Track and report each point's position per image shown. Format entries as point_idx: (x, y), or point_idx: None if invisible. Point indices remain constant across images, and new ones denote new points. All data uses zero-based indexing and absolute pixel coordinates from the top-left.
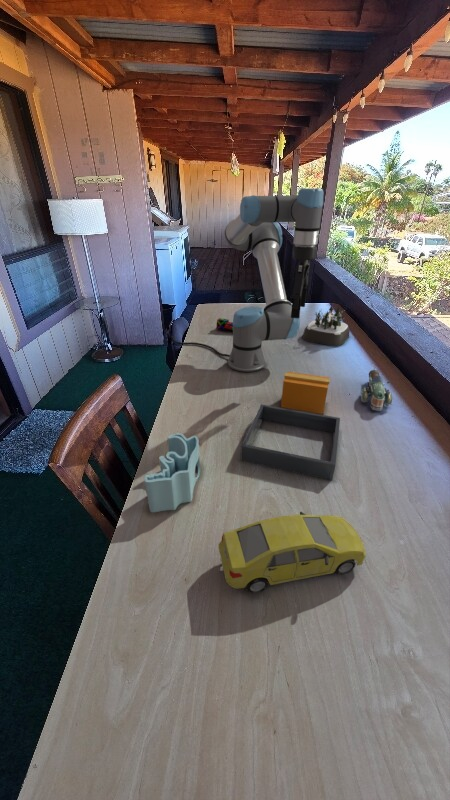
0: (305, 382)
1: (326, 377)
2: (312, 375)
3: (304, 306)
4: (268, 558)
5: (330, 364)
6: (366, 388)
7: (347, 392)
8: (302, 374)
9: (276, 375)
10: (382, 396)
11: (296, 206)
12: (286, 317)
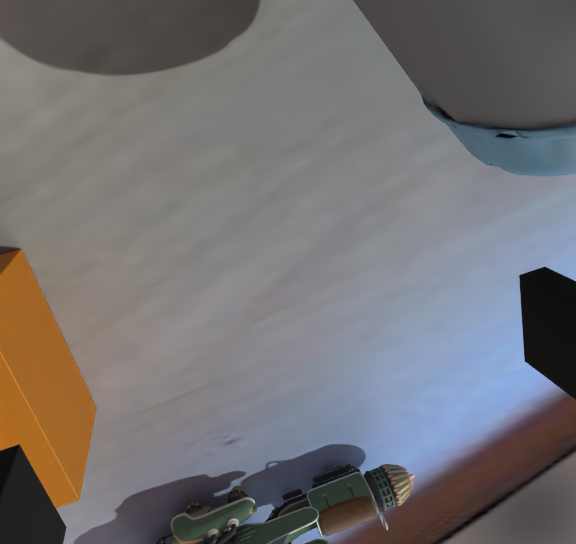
0: None
1: (67, 490)
2: (37, 433)
3: (529, 363)
4: None
5: (463, 277)
6: (232, 528)
7: (242, 431)
8: (6, 390)
9: (211, 101)
10: None
11: None
12: (533, 63)
